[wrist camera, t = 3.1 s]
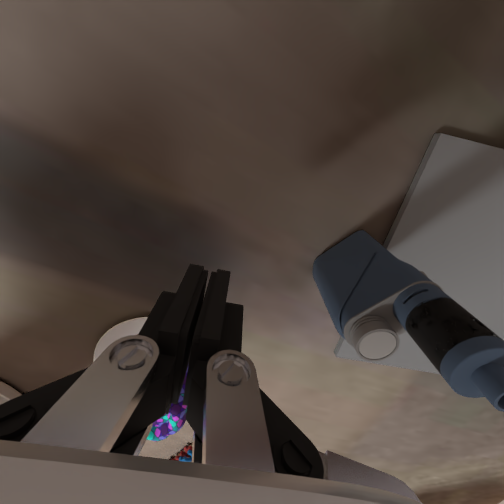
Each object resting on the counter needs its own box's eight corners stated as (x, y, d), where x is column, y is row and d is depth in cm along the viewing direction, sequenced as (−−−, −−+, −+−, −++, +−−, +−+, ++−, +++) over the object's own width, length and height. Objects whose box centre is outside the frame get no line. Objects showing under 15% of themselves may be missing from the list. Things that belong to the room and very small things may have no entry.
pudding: (90, 389, 25) (52, 448, 20) (108, 292, 21) (66, 340, 16) (207, 418, 27) (198, 478, 22) (248, 335, 23) (247, 388, 18)
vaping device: (383, 248, 19) (567, 405, 8) (321, 286, 20) (406, 466, 9) (367, 222, 18) (547, 355, 7) (303, 263, 19) (372, 430, 8)
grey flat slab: (476, 375, 24) (486, 386, 23) (333, 351, 23) (338, 362, 22) (629, 183, 17) (655, 186, 16) (434, 133, 16) (448, 132, 15)
